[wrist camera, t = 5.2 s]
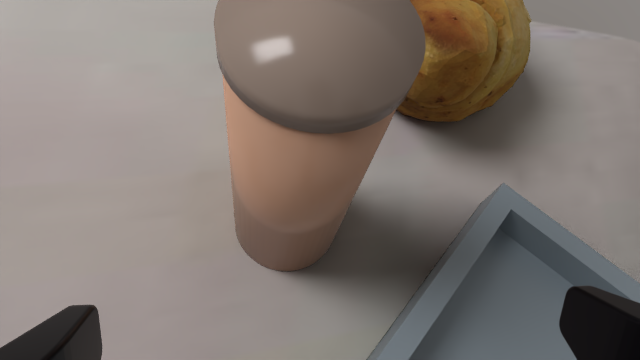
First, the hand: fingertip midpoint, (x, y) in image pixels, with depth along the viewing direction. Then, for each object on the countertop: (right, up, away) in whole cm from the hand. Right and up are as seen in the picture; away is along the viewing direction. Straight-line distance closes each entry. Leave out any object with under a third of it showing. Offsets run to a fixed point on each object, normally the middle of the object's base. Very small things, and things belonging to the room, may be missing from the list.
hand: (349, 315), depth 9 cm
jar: (-2, 0, +14) cm, 15 cm away
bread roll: (+5, +10, +21) cm, 24 cm away
